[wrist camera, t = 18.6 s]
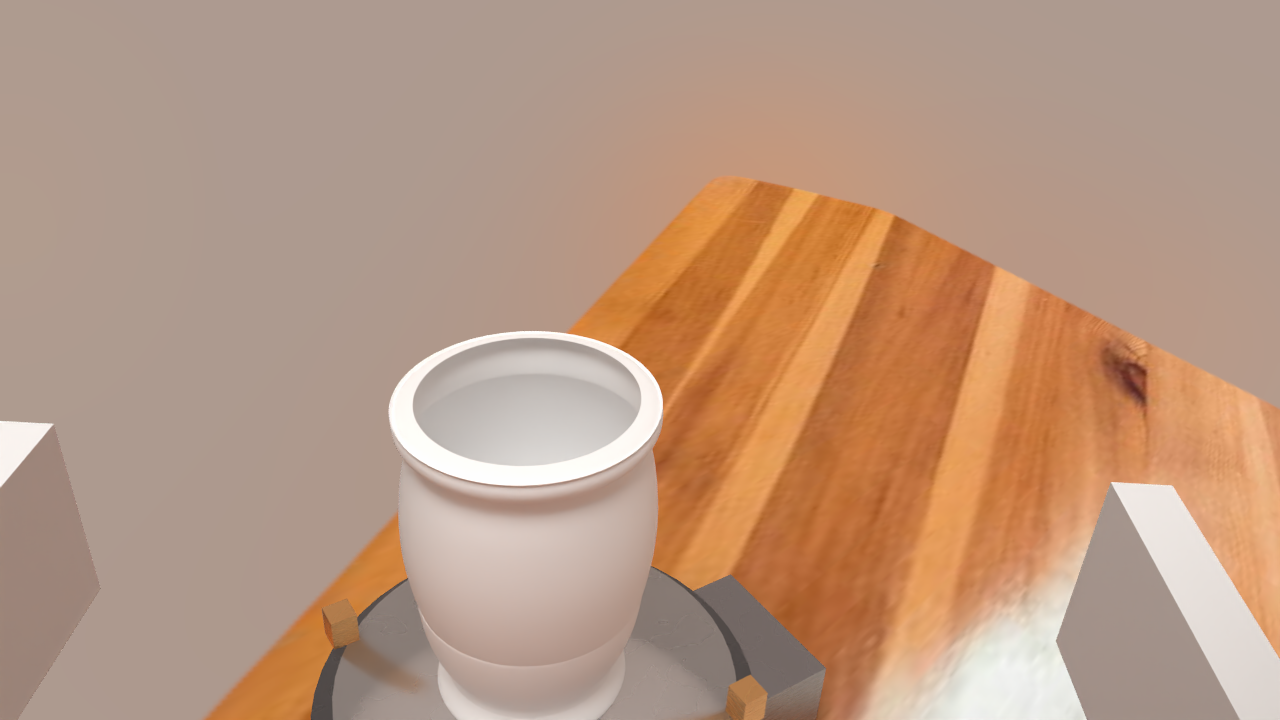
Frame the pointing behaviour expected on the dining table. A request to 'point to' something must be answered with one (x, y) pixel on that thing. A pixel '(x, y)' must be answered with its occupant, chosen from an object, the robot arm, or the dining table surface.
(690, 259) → the dining table surface
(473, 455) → the jar
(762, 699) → the cylinder
